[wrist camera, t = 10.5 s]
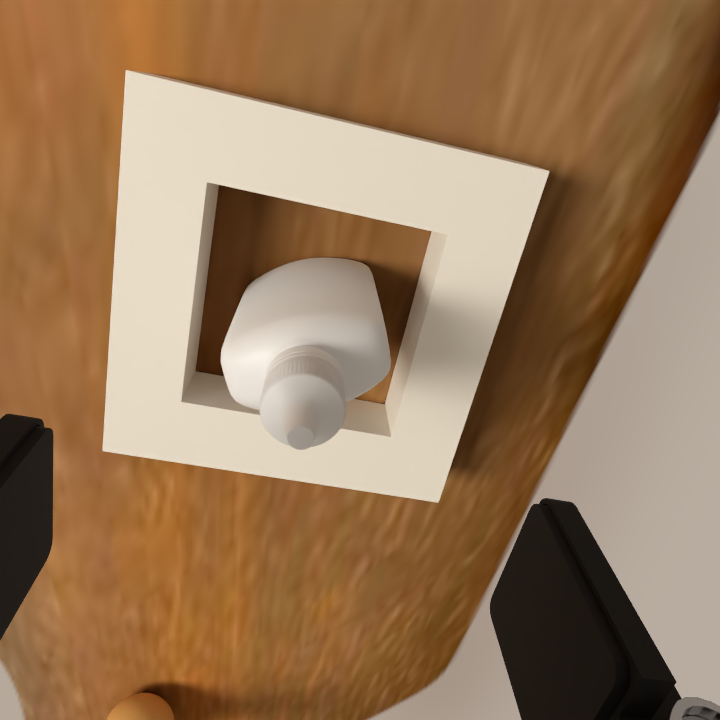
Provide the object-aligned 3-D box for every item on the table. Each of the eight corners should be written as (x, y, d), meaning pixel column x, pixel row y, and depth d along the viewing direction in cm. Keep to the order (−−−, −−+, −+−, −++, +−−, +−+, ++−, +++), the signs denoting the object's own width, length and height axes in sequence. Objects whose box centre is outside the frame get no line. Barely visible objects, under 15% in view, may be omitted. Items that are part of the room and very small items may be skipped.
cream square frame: (150, 73, 22) (125, 70, 20) (524, 162, 24) (549, 171, 22) (124, 416, 28) (102, 451, 25) (428, 465, 30) (438, 502, 27)
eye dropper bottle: (355, 356, 27) (375, 528, 17) (236, 321, 26) (173, 480, 16) (387, 268, 26) (433, 395, 15) (262, 228, 25) (212, 331, 14)
